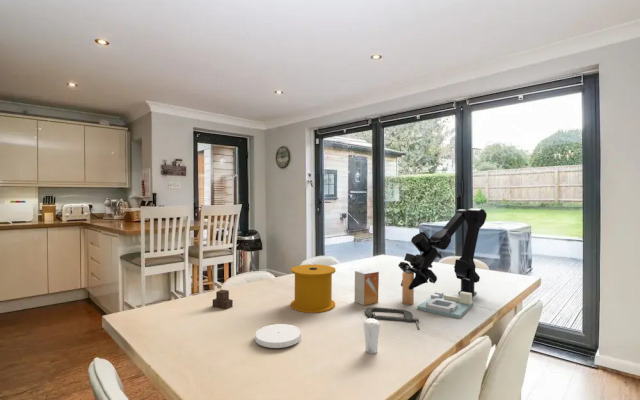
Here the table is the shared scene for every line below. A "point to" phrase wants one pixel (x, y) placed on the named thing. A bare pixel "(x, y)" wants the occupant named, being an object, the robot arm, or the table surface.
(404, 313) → the c clamp
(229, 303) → the stack of crates
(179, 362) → the table surface
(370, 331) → the milkshake
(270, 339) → the plastic lid
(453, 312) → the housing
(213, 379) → the table surface
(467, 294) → the cream block
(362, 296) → the small box
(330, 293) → the spool
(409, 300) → the jaw post
